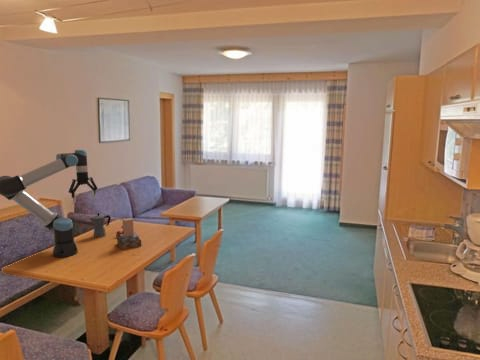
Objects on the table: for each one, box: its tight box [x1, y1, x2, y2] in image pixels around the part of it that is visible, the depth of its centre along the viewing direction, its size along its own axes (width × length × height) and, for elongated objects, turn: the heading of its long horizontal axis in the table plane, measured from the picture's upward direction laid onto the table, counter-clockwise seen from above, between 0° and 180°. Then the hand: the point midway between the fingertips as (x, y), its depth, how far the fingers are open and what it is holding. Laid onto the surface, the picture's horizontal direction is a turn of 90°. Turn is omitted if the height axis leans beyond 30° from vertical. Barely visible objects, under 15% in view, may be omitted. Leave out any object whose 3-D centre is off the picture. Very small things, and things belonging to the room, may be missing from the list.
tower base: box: [116, 231, 142, 250], centre depth 260 cm, size 14×14×7 cm
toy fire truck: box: [115, 224, 123, 238], centre depth 283 cm, size 3×14×10 cm, turn 143°
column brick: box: [122, 217, 134, 237], centre depth 259 cm, size 6×6×12 cm
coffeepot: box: [89, 212, 111, 238], centre depth 283 cm, size 15×9×18 cm, turn 112°
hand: (84, 200), depth 261 cm, fingers open, 13 cm apart
